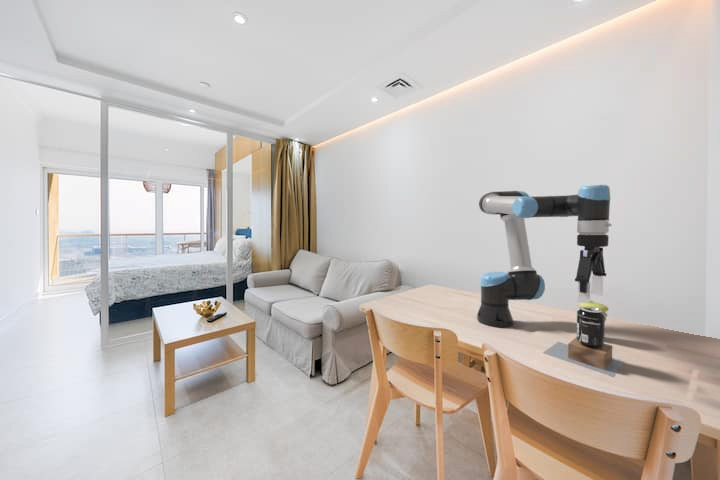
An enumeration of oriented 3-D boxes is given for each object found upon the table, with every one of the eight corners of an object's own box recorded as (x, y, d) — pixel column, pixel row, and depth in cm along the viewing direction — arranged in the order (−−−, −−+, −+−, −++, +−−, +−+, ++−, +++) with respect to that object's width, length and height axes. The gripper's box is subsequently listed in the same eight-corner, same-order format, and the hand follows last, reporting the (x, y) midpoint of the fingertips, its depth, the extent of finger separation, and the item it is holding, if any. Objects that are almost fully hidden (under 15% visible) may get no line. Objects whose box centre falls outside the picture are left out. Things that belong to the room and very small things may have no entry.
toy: (613, 342, 98) (614, 304, 98) (586, 341, 100) (587, 303, 99) (599, 334, 106) (599, 298, 105) (574, 332, 108) (574, 297, 107)
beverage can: (584, 338, 89) (585, 304, 88) (609, 347, 83) (610, 310, 82) (571, 342, 87) (572, 307, 86) (595, 351, 80) (596, 313, 80)
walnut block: (568, 358, 86) (568, 343, 86) (577, 350, 91) (577, 336, 91) (604, 370, 79) (604, 354, 78) (612, 360, 84) (612, 345, 84)
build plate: (542, 356, 90) (542, 352, 90) (558, 344, 98) (558, 341, 98) (613, 380, 75) (613, 376, 75) (624, 365, 83) (624, 361, 83)
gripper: (596, 236, 73) (593, 309, 74) (618, 232, 87) (616, 294, 88) (563, 235, 79) (562, 303, 80) (589, 232, 93) (587, 289, 94)
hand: (590, 298), depth 84 cm, fingers open, 13 cm apart
